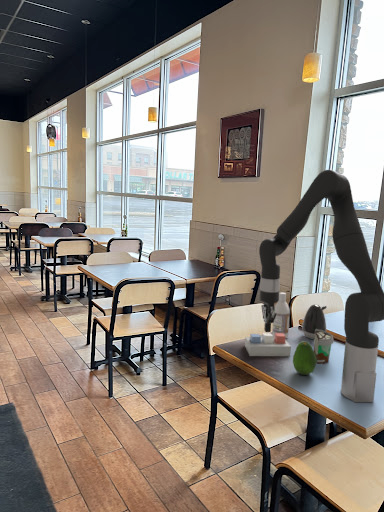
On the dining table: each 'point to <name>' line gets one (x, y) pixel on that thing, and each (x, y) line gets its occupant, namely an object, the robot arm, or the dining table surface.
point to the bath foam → (281, 316)
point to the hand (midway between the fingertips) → (267, 331)
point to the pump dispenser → (314, 321)
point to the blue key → (255, 338)
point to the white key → (267, 338)
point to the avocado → (304, 358)
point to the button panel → (267, 348)
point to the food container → (322, 346)
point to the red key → (279, 338)
